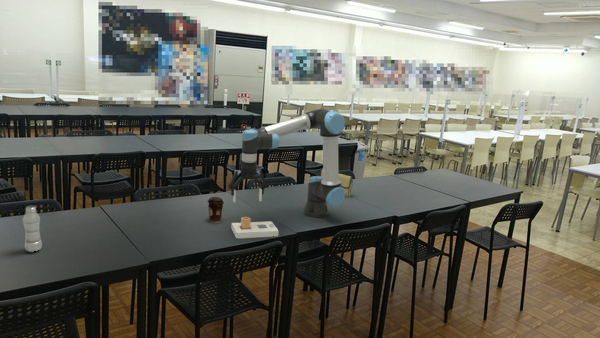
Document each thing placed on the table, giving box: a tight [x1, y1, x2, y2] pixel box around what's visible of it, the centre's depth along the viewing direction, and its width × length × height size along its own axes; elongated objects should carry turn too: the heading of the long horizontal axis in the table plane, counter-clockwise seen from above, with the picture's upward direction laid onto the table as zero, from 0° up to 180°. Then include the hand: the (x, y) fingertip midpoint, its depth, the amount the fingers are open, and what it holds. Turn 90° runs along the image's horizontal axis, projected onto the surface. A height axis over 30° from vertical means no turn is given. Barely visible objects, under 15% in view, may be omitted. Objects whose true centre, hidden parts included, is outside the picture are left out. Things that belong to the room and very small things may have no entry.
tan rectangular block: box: [240, 216, 252, 230], centre depth 228 cm, size 4×4×8 cm
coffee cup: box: [207, 196, 224, 224], centre depth 241 cm, size 9×8×13 cm
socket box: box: [230, 221, 279, 239], centre depth 230 cm, size 22×14×4 cm, turn 109°
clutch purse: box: [317, 168, 354, 198], centre depth 312 cm, size 30×7×15 cm, turn 50°
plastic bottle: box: [22, 205, 43, 253], centre depth 188 cm, size 6×7×20 cm
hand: (247, 201), depth 225 cm, fingers open, 13 cm apart
